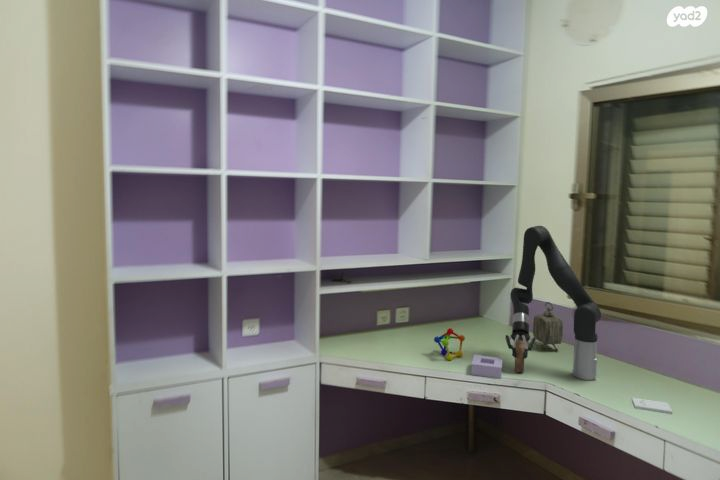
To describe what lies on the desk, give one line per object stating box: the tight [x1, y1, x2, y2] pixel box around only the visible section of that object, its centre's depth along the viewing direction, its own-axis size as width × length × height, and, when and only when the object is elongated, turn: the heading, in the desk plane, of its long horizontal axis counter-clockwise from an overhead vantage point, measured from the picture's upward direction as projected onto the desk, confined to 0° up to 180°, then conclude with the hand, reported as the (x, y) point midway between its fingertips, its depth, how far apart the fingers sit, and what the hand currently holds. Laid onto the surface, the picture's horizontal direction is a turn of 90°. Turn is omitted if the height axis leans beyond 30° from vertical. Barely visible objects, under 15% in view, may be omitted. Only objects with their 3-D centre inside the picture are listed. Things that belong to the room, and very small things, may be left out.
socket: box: [470, 354, 503, 379], centre depth 223 cm, size 13×13×5 cm
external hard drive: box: [631, 397, 673, 415], centre depth 189 cm, size 2×8×12 cm
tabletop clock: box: [532, 301, 564, 352], centre depth 256 cm, size 14×9×25 cm, turn 9°
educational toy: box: [433, 327, 466, 361], centre depth 242 cm, size 16×13×15 cm
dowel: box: [514, 340, 525, 373], centre depth 222 cm, size 4×4×14 cm
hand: (519, 357), depth 220 cm, fingers closed on dowel, 4 cm apart
